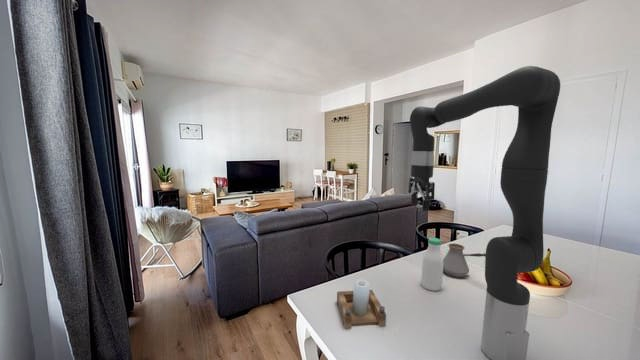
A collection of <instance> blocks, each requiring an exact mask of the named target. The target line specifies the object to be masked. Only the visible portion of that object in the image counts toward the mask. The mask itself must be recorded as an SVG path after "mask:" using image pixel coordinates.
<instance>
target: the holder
mask: <svg viewBox="0 0 640 360" xmlns="http://www.w3.org/2000/svg"><path fill="white" fill-rule="evenodd" d="M353 292H354V290H345V291H344V290H343V291H337V292H336V295H337V296H336V304H337V307H338V309H339V313H340V317H341V319H342V323H343V326H344V329H352V328H353V327H356V326H358V327H359V326H371V325H374V326H375V325H378V326H379V327H386V325H387V322H386V321H387V313H386V311H385V310H386V308H385V306H383V305H382V304H381V303H380V301H379V299H378V298H377V296H376V294H375V293H374V291H373V289H370V290H369V302H368V313H367V314H366V315H364V316H358V315H356V314H354V313H353V311H352V306H353Z"/></svg>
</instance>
